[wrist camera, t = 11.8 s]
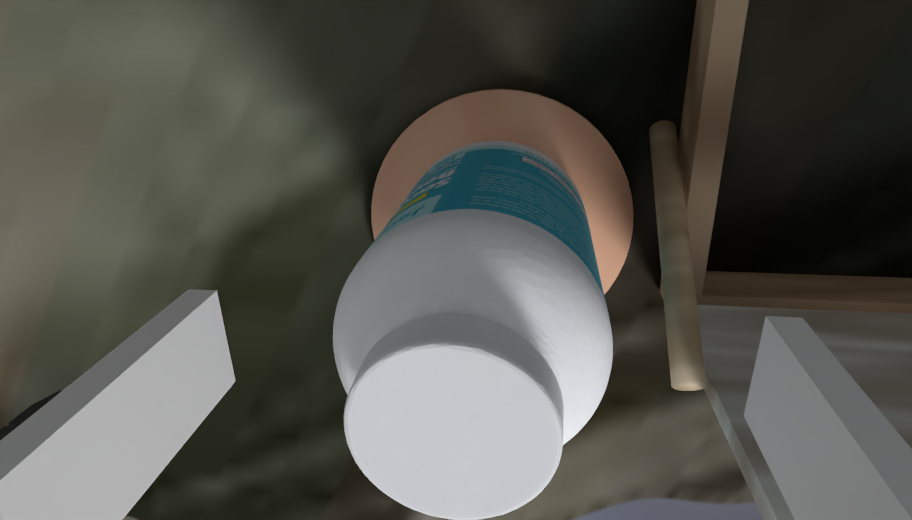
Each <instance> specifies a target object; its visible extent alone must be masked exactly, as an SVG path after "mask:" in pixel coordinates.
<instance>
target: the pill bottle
mask: <svg viewBox="0 0 912 520" xmlns="http://www.w3.org/2000/svg"><path fill="white" fill-rule="evenodd" d="M333 349H334V356H335V361H336V366H337V369H338V373H339V376H340V379H341V381H342V384H343V386H344V389H345V391H346V393H347V394H348V397H347V400H346V404H345V410H344V429H345V435H346V439H347V443H348V446H349V449H350V451H351V454H352V456H353V458H354V460H355V462H356V463H357V465H358V466H359V467H360V469H361V470H362V472H363V473H364V475H365V476H366V477H367V478H368V479H369V480H370V481H371V482H372V483H373V484H374V485H375V486H376V487H377V488H379V489H380V490H381V491H382V492H384V493H385V494H386V495H388V496H389V497H391V498H392V499H394V500H396V501H397V502H399V503H401V504H402V505H404V506H406V507H409V508H411V509H413V510H416V511H419V512H422V513H424V514H427V515H431V516H435V517H440V518H446V519H455V520H477V519H484V518H490V517H495V516H499V515H503V514H506V513H508V512H511V511H513V510H515V509H517V508H519V507H521V506H523V505H525V504H526V503H528V502H529V501H531V500H532V499H533V498H535V497H536V496H537V495H538V494H539V493H540V492H541V491H542V490H543V489H544V488H545V487H546V485H547V484H548V483H549V482H550V480H551V478H552V476H553V475H554V473H555V471H556V469H557V467H558V465H559V461H560V458H561V454H562V446H563V445H564V444H565V443H566V442H568V441H569V440H570V439H571V438H573V437H574V436H575V435H576V434H577V433H578V432H579V431H580V430H581V429H582V428H583V427H584V425H585V424H586V423H587V422H588V420H589V419H590V418H591V417H592V415H593V414H594V412H595V410H596V408H597V407H598V405H599V403H600V401H601V399H602V397H603V395H604V392H605V390H606V387H607V383H608V380H609V375H610V371H611V366H612V357H613V339H612V331H611V325H610V320H609V315H608V310H607V306H606V301H605V297H604V292H603V288H602V283H601V279H600V274H599V270H598V265H597V261H596V256H595V251H594V247H593V242H592V237H591V232H590V228H589V222H588V218H587V215H586V210H585V207H584V203H583V200H582V198H581V195H580V193H579V191H578V189H577V187H576V185H575V184H574V182H573V181H572V180H571V178H570V177H569V176H568V174H567V173H566V172H565V171H564V170H563V169H562V168H561V167H560V166H559V165H558V164H557V163H556V162H555V161H553V160H552V159H551V158H549V157H548V156H546V155H545V154H543V153H541V152H539V151H537V150H536V149H533V148H531V147H528V146H526V145H522V144H518V143H515V142H509V141H483V142H477V143H473V144H469V145H466V146H463V147H460V148H458V149H456V150H454V151H452V152H450V153H448V154H447V155H445V156H443V157H442V158H441V159H439V160H438V161H437V162H435V163H434V164H433V165H432V166H431V167H430V168H429V169H428V170H427V171H426V172H425V174H424V175H423V176H422V177H421V178H420V180H419V181H418V182H417V184H416V185H415V187H414V188H413V189H412V191H411V192H410V193H409V195H408V196H407V198H406V199H405V200H404V202H403V203H402V205H401V206H400V207H399V208H398V210H397V211H396V213H395V214H394V215H393V217H392V218H391V219H390V221H389V222H388V223H387V225H386V226H385V227H384V229H383V230H382V231H381V233H380V234H379V235H378V237H377V238H376V239H375V241H374V242H373V243H372V245H371V246H370V247H369V248H368V250H367V251H366V252H365V254H364V255H363V256H362V258H361V259H360V260H359V262H358V263H357V265H356V266H355V268H354V269H353V271H352V272H351V274H350V275H349V277H348V279H347V281H346V283H345V285H344V287H343V289H342V292H341V294H340V297H339V300H338V304H337V308H336V313H335V318H334V325H333Z"/></svg>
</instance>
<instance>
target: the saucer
mask: <svg viewBox="0 0 912 520" xmlns="http://www.w3.org/2000/svg"><path fill="white" fill-rule="evenodd" d="M483 141H509V142H515V143H518V144H522V145H526V146H528V147H531V148H533V149H536V150H537V151H539V152H541V153H543V154H545V155H546V156H548V157H549V158H551V159H552V160H553V161H555V162H556V163H557V164H558V165H559V166H560V167H561V168H562V169H563V170H564V171H565V172H566V173H567V174H568V176H569V177H570V178H571V180H572V181H573V182H574V184H575V185H576V187H577V189H578V191H579V193H580V195H581V198H582V200H583V203H584V207H585V210H586V215H587V218H588V222H589V228H590V232H591V237H592V242H593V247H594V251H595V256H596V261H597V265H598V270H599V274H600V279H601V283H602V288H603V292H604V294H605V293H606V292H607V291H608V290H609V288H610V287H611V285H612V284H613V282H614V281H615V279H616V278H617V276H618V274H619V272H620V270H621V268H622V266H623V264H624V262H625V260H626V256H627V253H628V250H629V247H630V243H631V237H632V232H633V213H634V212H633V203H632V194H631V191H630V187H629V183H628V179H627V176H626V174H625V172H624V169H623V167H622V164H621V162H620V160H619V159H618V157H617V155H616V154H615V152H614V150H613V149H612V147H611V145H610V144H609V142H608V141H607V140H606V139H605V138H604V136H603V135H602V134H601V133H600V131H599V130H598V129H597V128H596V127H595V126H594V125H592V124H591V123H590V122H589V121H588V120H587V119H586V118H585V117H583V116H582V115H581V114H579V113H578V112H576V111H575V110H573V109H572V108H570V107H569V106H567V105H565V104H563V103H561V102H559V101H557V100H555V99H552V98H549V97H546V96H544V95H541V94H538V93H533V92H528V91H523V90H517V89H502V88H500V89H486V90H479V91H475V92H470V93H465V94H462V95H460V96H457V97H454V98H451V99H448V100H446V101H445V102H443V103H441V104H439V105H437V106H435V107H433V108H432V109H430V110H429V111H427V112H426V113H425V114H423V115H422V116H420V117H419V118H418V119H416V120H415V121H414V122H413V123H412V124H411V125H410V126H409V127H408V128H407V129H406V130H405V131H404V132H403V133H402V134H401V135H400V136H399V138H398V139H397V140H396V141H395V143H394V144H393V145H392V147H391V149H390V150H389V152H388V154H387V155H386V157H385V159H384V161H383V163H382V165H381V168H380V170H379V172H378V175H377V179H376V182H375V186H374V190H373V197H372V205H371V222H372V229H373V236H374V241H375V239H376V238H377V237H378V235H379V234H380V233H381V231H382V230H383V229H384V227H385V226H386V225H387V223H388V222H389V221H390V219H391V218H392V217H393V215H394V214H395V213H396V211H397V210H398V208H399V207H400V206H401V205H402V203H403V202H404V200H405V199H406V198H407V196H408V195H409V193H410V192H411V191H412V189H413V188H414V187H415V185H416V184H417V182H418V181H419V180H420V178H421V177H422V176H423V175H424V174H425V172H426V171H427V170H428V169H429V168H430V167H431V166H432V165H433V164H434V163H435V162H437V161H438V160H439V159H441V158H442V157H443V156H445V155H447V154H448V153H450V152H452V151H454V150H456V149H458V148H460V147H463V146H466V145H469V144H473V143H477V142H483Z"/></svg>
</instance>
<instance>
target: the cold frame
mask: <svg viewBox="0 0 912 520" xmlns="http://www.w3.org/2000/svg"><path fill="white" fill-rule="evenodd" d="M748 3H749V0H697V3H696V11H695V18H694V26H693V34H692V42H691V50H690V57H689V65H688V73H687V81H686V89H685V96H684V104H683V112H682V120H681V128H680V135H679V143H678V139H677V130H676V125H675V124H674V123H673V122H671V121H667V120H663V121H658V122H656V123H654V124H653V125H651V127H650V128H649V138H650V149H651V161H652V172H653V183H654V195H655V206H656V217H657V229H658V240H659V251H660V263H661V274H662V276H661V284H660V292H661V295H662V297H663V299H664V308H665V319H666V331H667V342H668V353H669V365H670V376H671V387H672V388H674V389H677V390H683V391H694V390H700V389H703V388H704V390H705V392H706V394H707V396H708V399H709V401H710V403H711V405H712V407H713V410H714V412H715V414H716V416H717V418H718V421H719V423H720V425H721V427H722V429H723V432H724V434H725V436H726V438H727V441H728V443H729V445H730V447H731V449H732V452H733V454H734V456H735V458H736V460H737V463H738V465H739V467H740V469H741V471H742V474H743V476H744V478H745V480H746V483H747V485H748V487H749V489H750V491H751V494H752V496H753V498H754V500H755V502H756V505H757V507H758V509H759V511H760V513H761V516H762V518H763V520H795V519H794V517H793V515H792V513H791V511H790V509H789V507H788V505H787V503H786V501H785V499H784V497H783V495H782V493H781V491H780V489H779V487H778V485H777V483H776V481H775V479H774V477H773V475H772V473H771V470H770V468H769V466H768V464H767V462H766V460H765V458H764V456H763V454H762V452H761V450H760V448H759V446H758V444H757V442H756V440H755V438H754V436H753V434H752V432H751V430H750V428H749V426H748V424H747V422H746V420H745V417H744V412H745V407H746V403H747V398H748V393H749V389H750V384H751V380H752V375H753V371H754V366H755V362H756V357H757V353H758V348H759V344H760V339H761V335H762V330H763V326H764V321H765V317H766V316H777V317H799V318H803V319H804V320H805V322H806V323H807V324H808V325H809V326H810V328H811V329H812V330H813V331H814V332H815V334H816V335H817V336H818V337H819V338H820V340H821V341H822V342H823V343H824V344H825V346H826V347H827V348H828V349H829V350H830V352H831V353H832V354H833V355H834V356H835V358H836V359H837V360H838V361H839V362H840V364H841V365H842V366H843V367H844V368H845V370H846V371H847V372H848V373H849V374H850V376H851V377H852V378H853V379H854V380H855V382H856V383H857V384H858V385H859V386H860V388H861V389H862V390H863V391H864V392H865V394H866V395H867V396H868V397H869V398H870V400H871V401H872V402H873V403H874V404H875V406H876V407H877V408H878V409H879V410H880V412H881V413H882V414H883V415H884V416H885V418H886V419H887V420H888V421H889V422H890V424H891V425H892V426H893V427H894V428H895V430H896V431H897V432H898V433H899V434H900V436H901V437H902V438H903V439H904V440H905V442H906V443H907V444H908V445H909V446H910V448H911V449H912V278H898V277H868V276H839V275H810V274H781V273H752V272H723V271H706V267H707V260H708V254H709V248H710V242H711V235H712V229H713V223H714V216H715V210H716V204H717V198H718V191H719V185H720V179H721V172H722V166H723V160H724V154H725V147H726V141H727V135H728V128H729V122H730V116H731V110H732V103H733V97H734V91H735V84H736V78H737V72H738V66H739V59H740V53H741V47H742V40H743V34H744V28H745V22H746V15H747V9H748Z"/></svg>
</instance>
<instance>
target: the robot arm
mask: <svg viewBox="0 0 912 520" xmlns="http://www.w3.org/2000/svg"><path fill="white" fill-rule="evenodd" d="M234 382H235V377H234V372H233V367H232V362H231V357H230V352H229V348H228V343H227V338H226V333H225V328H224V323H223V319H222V314H221V309H220V304H219V299H218V294H217V291H213V290H191V289H188V290H187V291H186V292H185V293H183V294H182V295H181V296H180V297H179V298H177V299H176V300H175V301H174V302H172V303H171V304H170V305H169V306H167V307H166V308H165V309H164V310H162V311H161V312H160V313H159V314H157V315H156V316H155V317H154V318H152V319H151V320H150V321H149V322H147V323H146V324H145V325H144V326H142V327H141V328H140V329H139V330H137V331H136V332H135V333H134V334H132V335H131V336H130V337H129V338H127V339H126V340H125V341H124V342H122V343H121V344H120V345H119V346H117V347H116V348H115V349H114V350H113V351H111V352H110V353H109V354H108V355H106V356H105V357H104V358H103V359H101V360H100V361H99V362H98V363H96V364H95V365H94V366H93V367H91V368H90V369H89V370H88V371H86V372H85V373H84V374H83V375H81V376H80V377H79V378H78V379H76V380H75V381H74V382H73V383H71V384H70V385H69V386H68V387H66V388H65V389H64V390H63V391H61V390H60V391H58V392H56V393H54V394H52V395H50V396H48V397H46V398H44V399H43V400H41V401H39V402H37V403H35V404H33V405H31V406H30V407H29V408H27V409H26V410H25V411H23V412H22V413H21V414H20V415H18V416H17V417H16V418H15V419H13V420H12V421H11V422H9V426H8V427H6V426H4V427H3V428H2V429H0V520H122V519H123V518H124V517H125V516H126V515H127V513H128V512H129V511H130V510H131V508H132V507H133V506H134V505H135V504H136V502H137V501H138V500H139V499H140V497H141V496H142V495H143V494H144V493H145V491H146V490H147V489H148V488H149V486H150V485H151V484H152V483H153V482H154V480H155V479H156V478H157V477H158V475H159V474H160V473H161V472H162V471H163V469H164V468H165V467H166V466H167V464H168V463H169V462H170V461H171V460H172V458H173V457H174V456H175V455H176V453H177V452H178V451H179V450H180V448H181V447H182V446H183V445H184V444H185V442H186V441H187V440H188V439H189V437H190V436H191V435H192V434H193V433H194V431H195V430H196V429H197V428H198V426H199V425H200V424H201V423H202V422H203V420H204V419H205V418H206V417H207V415H208V414H209V413H210V412H211V411H212V409H213V408H214V407H215V406H216V404H217V403H218V402H219V401H220V399H221V398H222V397H223V396H224V395H225V393H226V392H227V391H228V390H229V388H230V387H231V386H232V385H233V384H234ZM744 417H745V420H746V422H747V424H748V426H749V428H750V430H751V432H752V434H753V436H754V438H755V440H756V442H757V444H758V446H759V448H760V450H761V452H762V454H763V456H764V458H765V460H766V462H767V464H768V466H769V468H770V470H771V473H772V475H773V477H774V479H775V481H776V483H777V485H778V487H779V489H780V491H781V493H782V495H783V497H784V499H785V501H786V503H787V505H788V507H789V509H790V511H791V513H792V515H793V517H794V519H795V520H912V449H911V448H910V446H909V445H908V444H907V443H906V442H905V440H904V439H903V438H902V437H901V436H900V434H899V433H898V432H897V431H896V430H895V428H894V427H893V426H892V425H891V424H890V422H889V421H888V420H887V419H886V418H885V416H884V415H883V414H882V413H881V412H880V410H879V409H878V408H877V407H876V406H875V404H874V403H873V402H872V401H871V400H870V398H869V397H868V396H867V395H866V394H865V392H864V391H863V390H862V389H861V388H860V386H859V385H858V384H857V383H856V382H855V380H854V379H853V378H852V377H851V376H850V374H849V373H848V372H847V371H846V370H845V368H844V367H843V366H842V365H841V364H840V362H839V361H838V360H837V359H836V358H835V356H834V355H833V354H832V353H831V352H830V350H829V349H828V348H827V347H826V346H825V344H824V343H823V342H822V341H821V340H820V338H819V337H818V336H817V335H816V334H815V332H814V331H813V330H812V329H811V328H810V326H809V325H808V324H807V323H806V322H805V320H804V319H803V318H799V317H777V316H766V317H765V321H764V326H763V330H762V335H761V339H760V344H759V348H758V353H757V357H756V362H755V366H754V371H753V375H752V380H751V384H750V389H749V393H748V398H747V403H746V407H745V412H744Z"/></svg>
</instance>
